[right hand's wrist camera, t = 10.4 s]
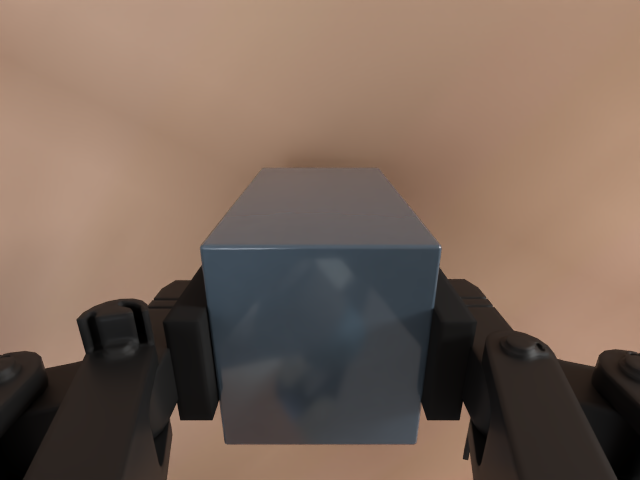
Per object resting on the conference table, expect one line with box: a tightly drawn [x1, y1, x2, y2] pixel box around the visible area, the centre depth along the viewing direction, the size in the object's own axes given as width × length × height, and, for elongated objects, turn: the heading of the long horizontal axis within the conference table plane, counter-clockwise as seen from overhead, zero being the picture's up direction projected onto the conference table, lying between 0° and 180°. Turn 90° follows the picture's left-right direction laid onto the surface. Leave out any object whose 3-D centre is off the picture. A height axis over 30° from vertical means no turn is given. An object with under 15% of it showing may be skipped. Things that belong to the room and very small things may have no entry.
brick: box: [200, 168, 442, 445], centre depth 13 cm, size 5×6×9 cm
